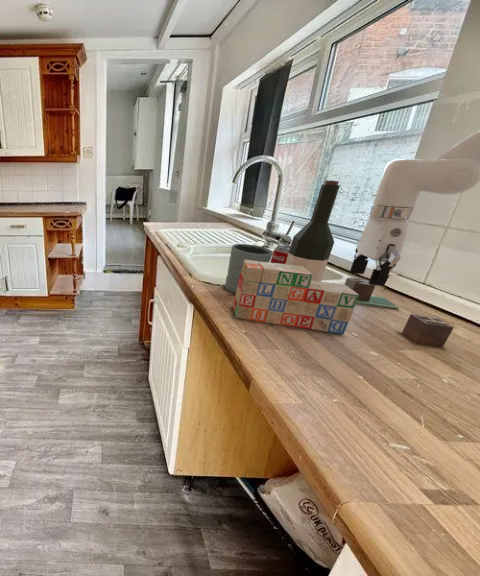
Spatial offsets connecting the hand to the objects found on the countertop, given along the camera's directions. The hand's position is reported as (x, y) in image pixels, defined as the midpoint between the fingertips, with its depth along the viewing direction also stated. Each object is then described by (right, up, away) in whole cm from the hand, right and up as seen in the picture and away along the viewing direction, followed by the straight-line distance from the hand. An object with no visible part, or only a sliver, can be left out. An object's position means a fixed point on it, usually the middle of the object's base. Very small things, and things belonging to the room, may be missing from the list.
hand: (365, 278), depth 81 cm
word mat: (+2, -6, +2) cm, 7 cm away
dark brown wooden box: (-3, -13, -17) cm, 22 cm away
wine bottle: (-20, -6, -1) cm, 21 cm away
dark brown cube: (-1, -5, +2) cm, 6 cm away
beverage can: (-20, -3, +8) cm, 21 cm away
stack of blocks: (-29, -10, -12) cm, 33 cm away
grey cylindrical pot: (-31, -3, +5) cm, 31 cm away
